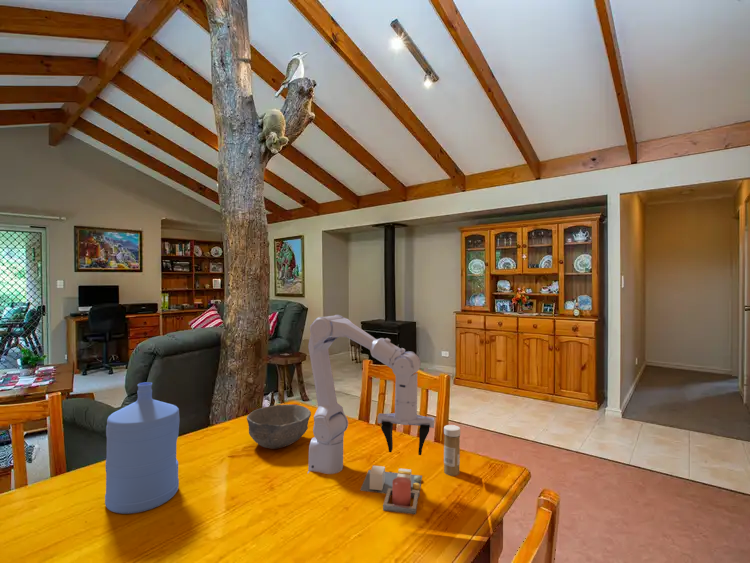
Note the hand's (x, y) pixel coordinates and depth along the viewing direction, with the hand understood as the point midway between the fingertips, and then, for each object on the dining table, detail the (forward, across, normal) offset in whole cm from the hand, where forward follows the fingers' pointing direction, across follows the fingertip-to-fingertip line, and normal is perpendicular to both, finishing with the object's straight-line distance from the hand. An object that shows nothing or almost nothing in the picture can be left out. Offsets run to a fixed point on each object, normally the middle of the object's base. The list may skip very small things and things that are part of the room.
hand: (405, 452), depth 102 cm
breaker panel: (+10, -4, +2) cm, 11 cm away
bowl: (+10, -44, +20) cm, 49 cm away
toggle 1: (+9, -7, -1) cm, 12 cm away
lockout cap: (+10, 0, -8) cm, 12 cm away
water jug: (+10, -63, -17) cm, 66 cm away
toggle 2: (+9, 0, -2) cm, 9 cm away
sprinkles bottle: (+10, +12, +11) cm, 19 cm away
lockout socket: (+10, 0, -8) cm, 12 cm away
